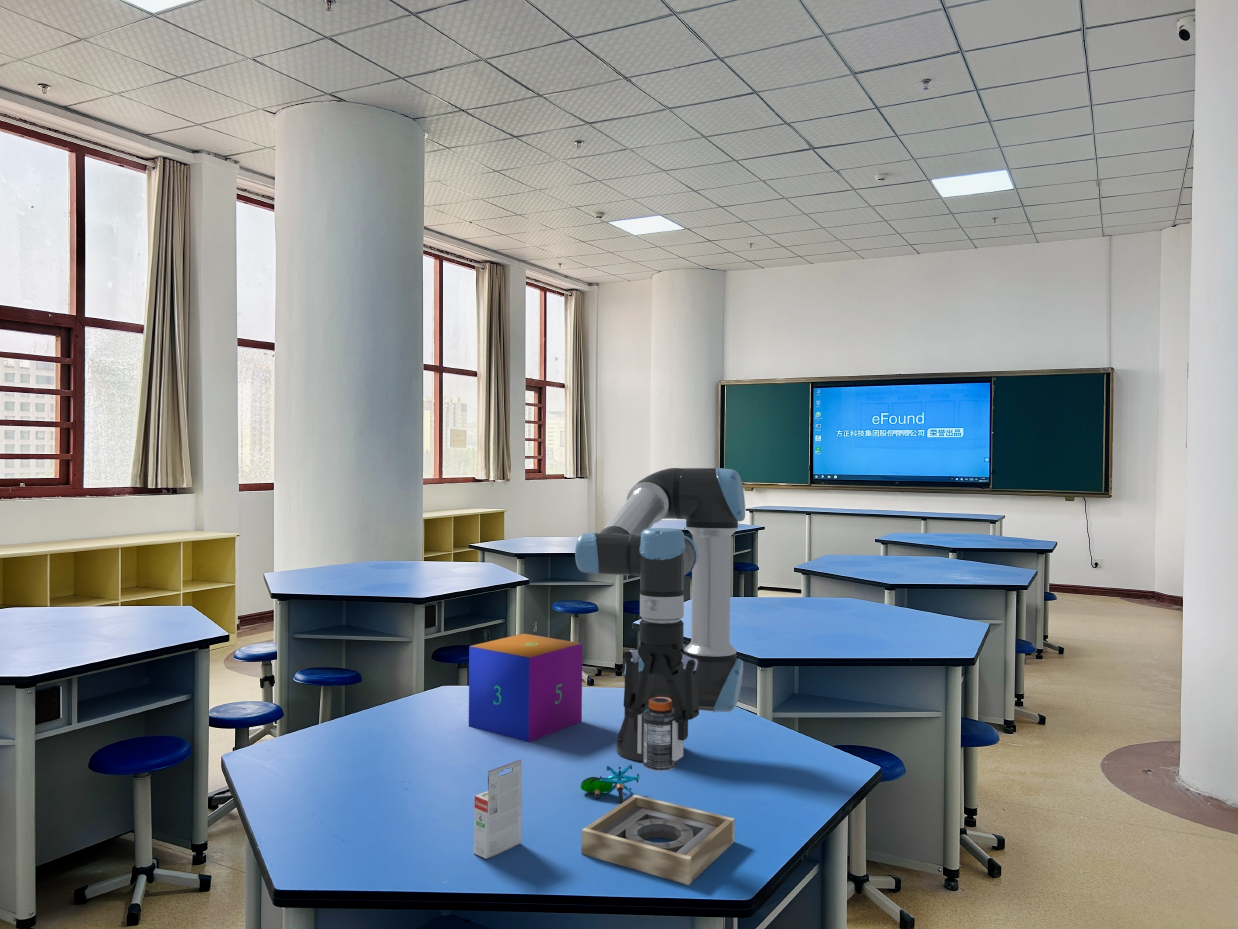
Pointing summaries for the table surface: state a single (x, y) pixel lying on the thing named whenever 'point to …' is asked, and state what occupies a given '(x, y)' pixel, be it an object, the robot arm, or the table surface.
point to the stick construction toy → (609, 783)
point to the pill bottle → (658, 735)
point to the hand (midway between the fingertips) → (660, 754)
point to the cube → (525, 686)
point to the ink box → (499, 812)
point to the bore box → (648, 818)
